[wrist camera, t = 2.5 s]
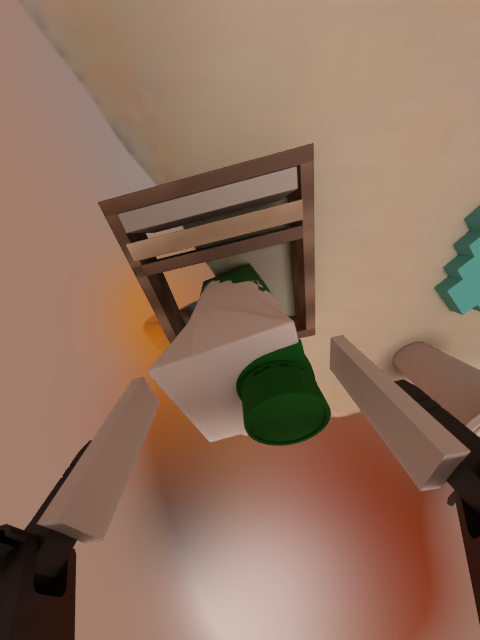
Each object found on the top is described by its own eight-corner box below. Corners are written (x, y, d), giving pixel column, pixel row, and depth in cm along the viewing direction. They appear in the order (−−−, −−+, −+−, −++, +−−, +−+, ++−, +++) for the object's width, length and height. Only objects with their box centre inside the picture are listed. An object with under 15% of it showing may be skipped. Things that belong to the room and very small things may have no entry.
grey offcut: (148, 219, 21) (117, 214, 15) (277, 185, 20) (296, 166, 14) (154, 232, 21) (126, 232, 16) (278, 200, 20) (297, 188, 15)
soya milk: (270, 308, 27) (346, 454, 9) (218, 326, 28) (199, 488, 11) (253, 253, 23) (328, 329, 5) (193, 278, 24) (94, 407, 7)
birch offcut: (157, 240, 22) (125, 244, 15) (279, 209, 21) (302, 199, 14) (162, 252, 23) (134, 261, 16) (280, 222, 22) (303, 219, 15)
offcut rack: (124, 207, 20) (97, 202, 16) (295, 161, 19) (313, 143, 15) (187, 345, 30) (180, 363, 26) (303, 320, 28) (315, 334, 24)
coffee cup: (440, 328, 31) (600, 402, 17) (432, 364, 35) (556, 446, 22) (385, 345, 32) (495, 427, 19) (384, 378, 36) (473, 464, 23)
